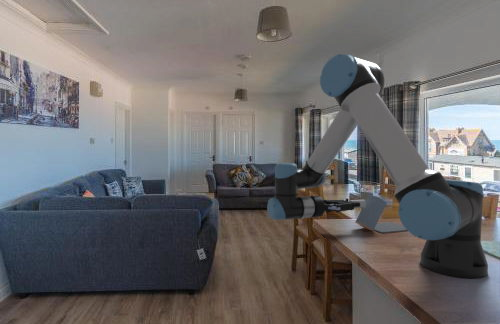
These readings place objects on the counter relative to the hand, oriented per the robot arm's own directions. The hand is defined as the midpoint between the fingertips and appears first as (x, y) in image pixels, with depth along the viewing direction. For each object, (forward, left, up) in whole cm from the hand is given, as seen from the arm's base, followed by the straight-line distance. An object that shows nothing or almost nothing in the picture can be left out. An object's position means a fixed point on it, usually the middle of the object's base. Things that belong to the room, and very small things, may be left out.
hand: (364, 203), depth 125 cm
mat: (+6, -8, -10) cm, 14 cm away
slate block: (-1, 0, -9) cm, 9 cm away
